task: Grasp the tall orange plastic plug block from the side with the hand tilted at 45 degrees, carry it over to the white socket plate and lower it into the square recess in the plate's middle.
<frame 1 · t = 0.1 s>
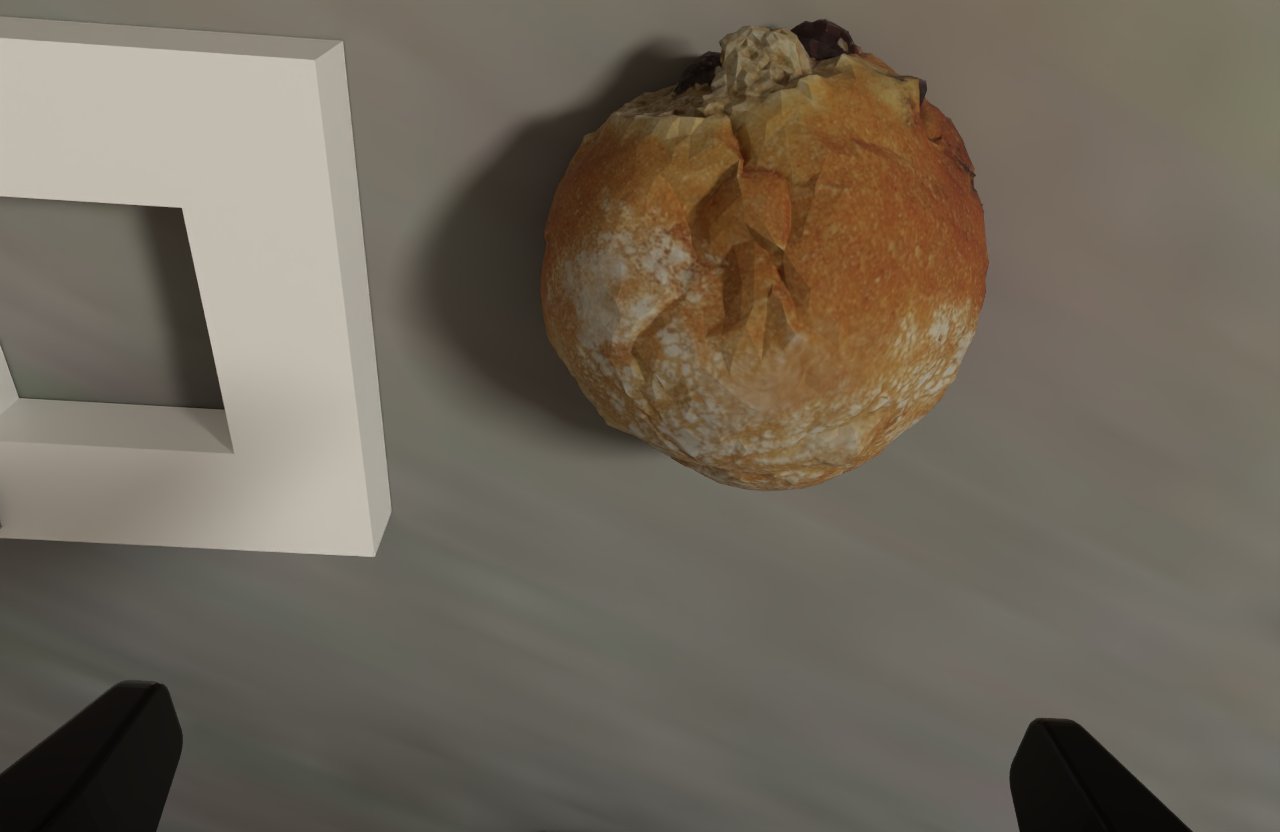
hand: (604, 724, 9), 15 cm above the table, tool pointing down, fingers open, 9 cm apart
bread roll: (752, 236, 22), on the table
socket plate: (111, 296, 23), on the table
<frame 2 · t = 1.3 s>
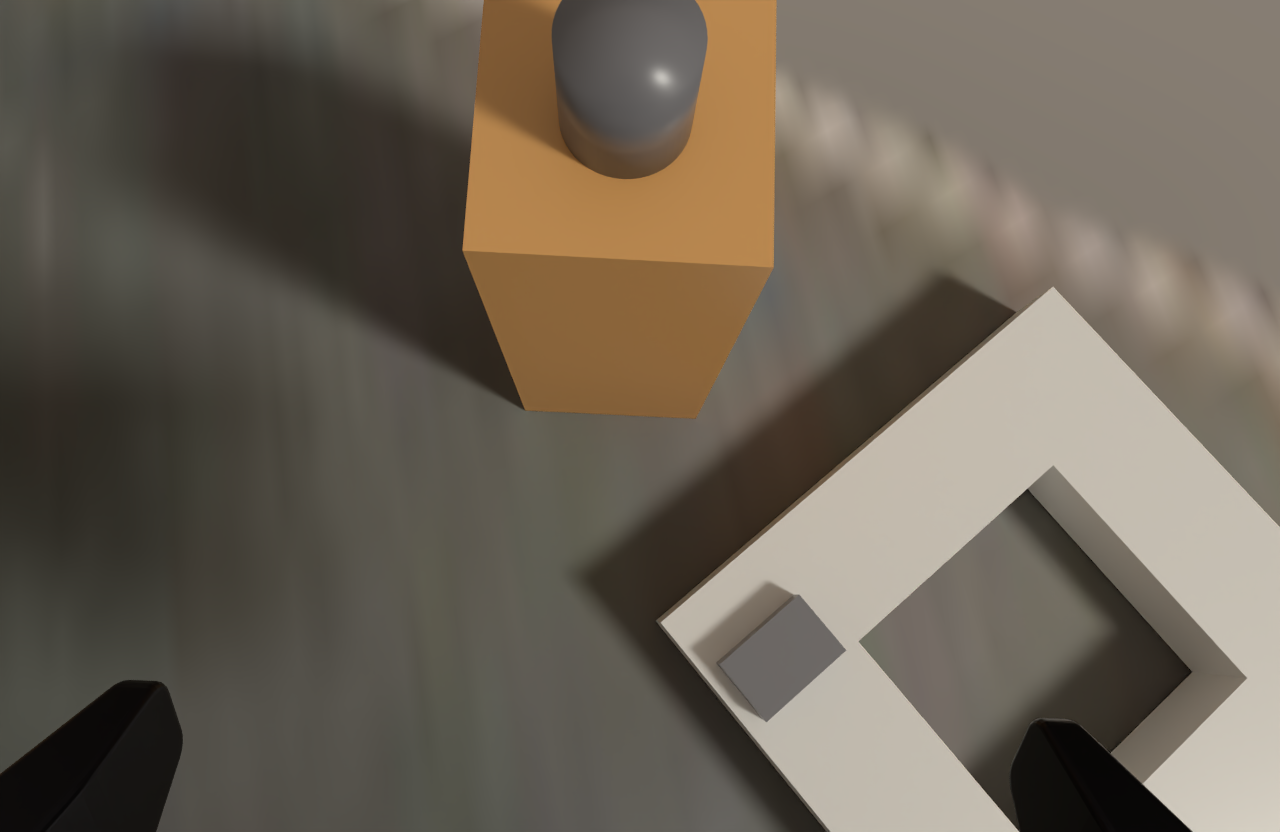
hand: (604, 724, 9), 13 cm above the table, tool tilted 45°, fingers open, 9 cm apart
plug: (614, 332, 24), on the table
socket plate: (1015, 655, 23), on the table
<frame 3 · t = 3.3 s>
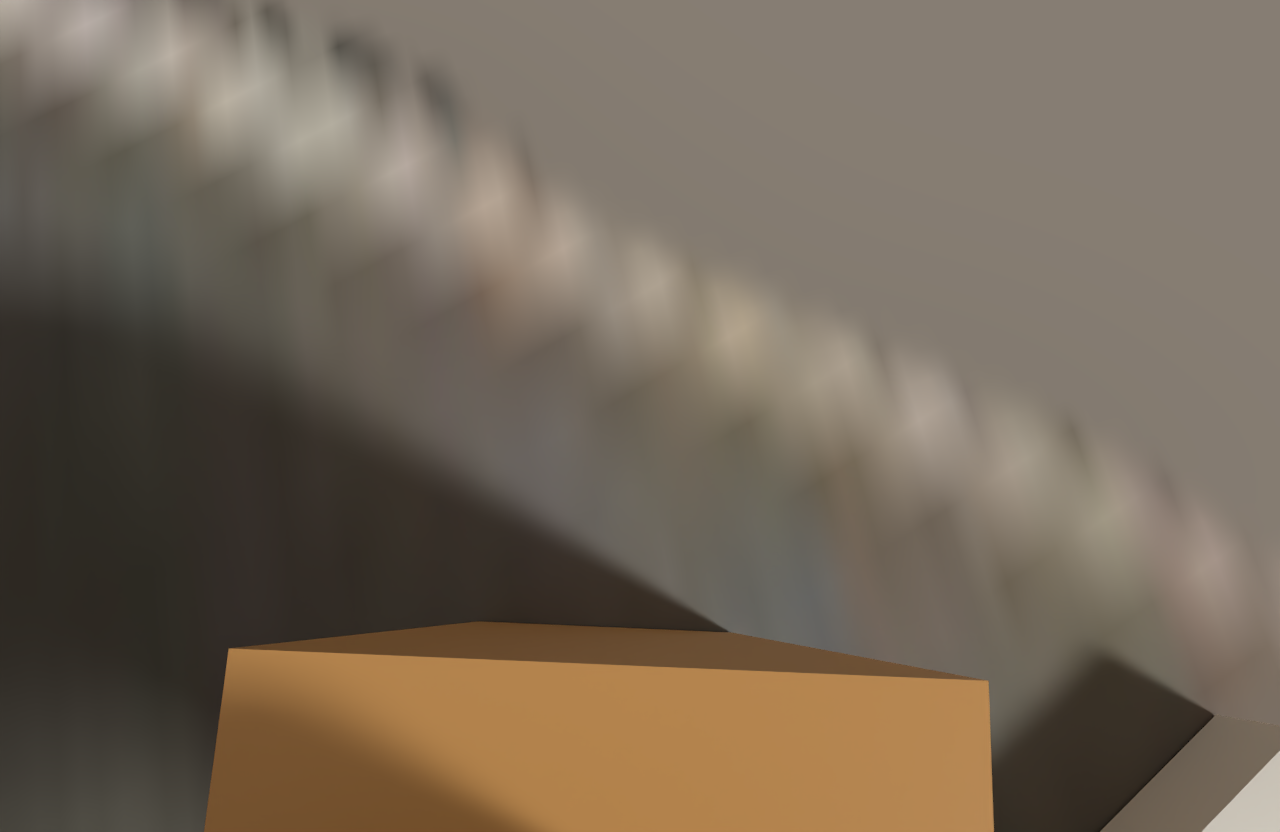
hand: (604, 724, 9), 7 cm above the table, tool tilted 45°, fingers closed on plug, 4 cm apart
plug: (598, 760, 16), on the table, touching gripper
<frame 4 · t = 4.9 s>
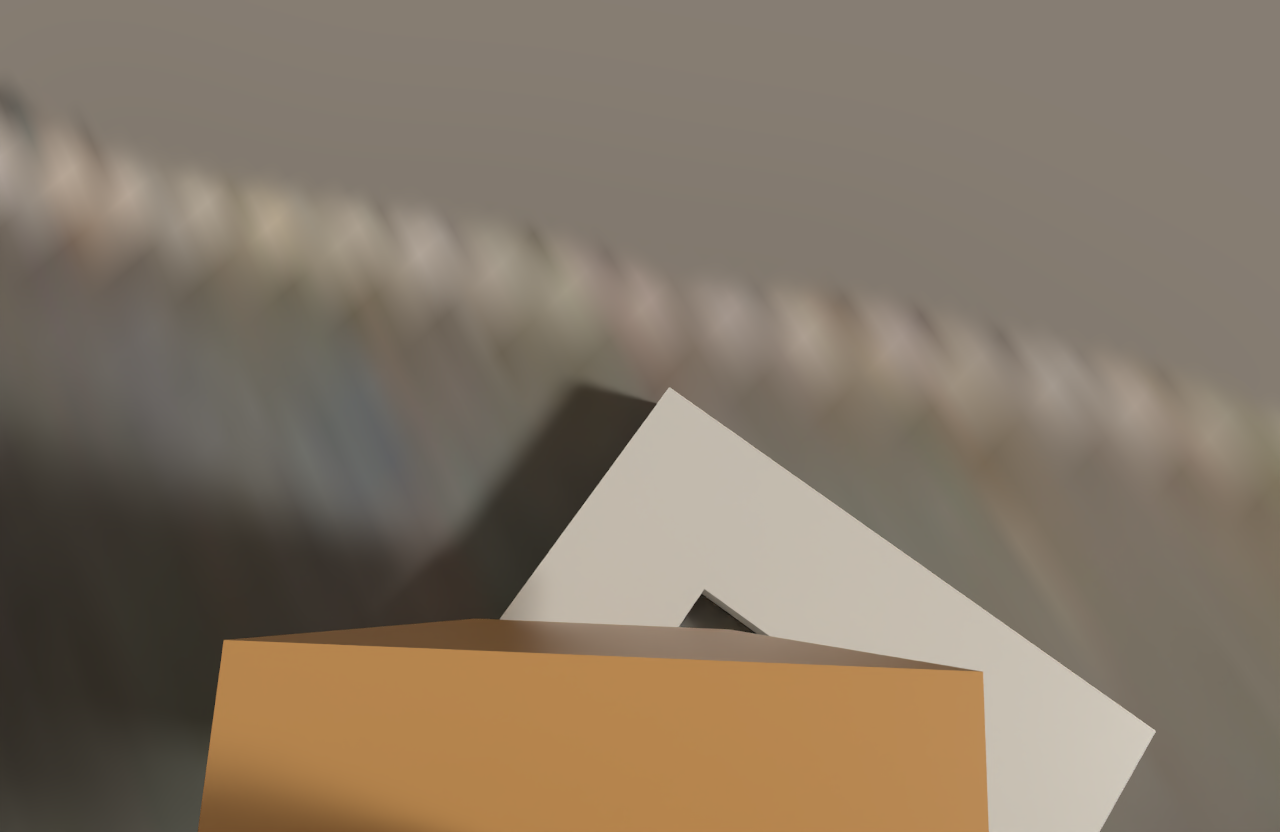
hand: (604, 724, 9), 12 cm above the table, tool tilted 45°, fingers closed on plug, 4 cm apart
plug: (596, 757, 16), point 6 cm above the table, touching gripper
socket plate: (729, 788, 21), on the table
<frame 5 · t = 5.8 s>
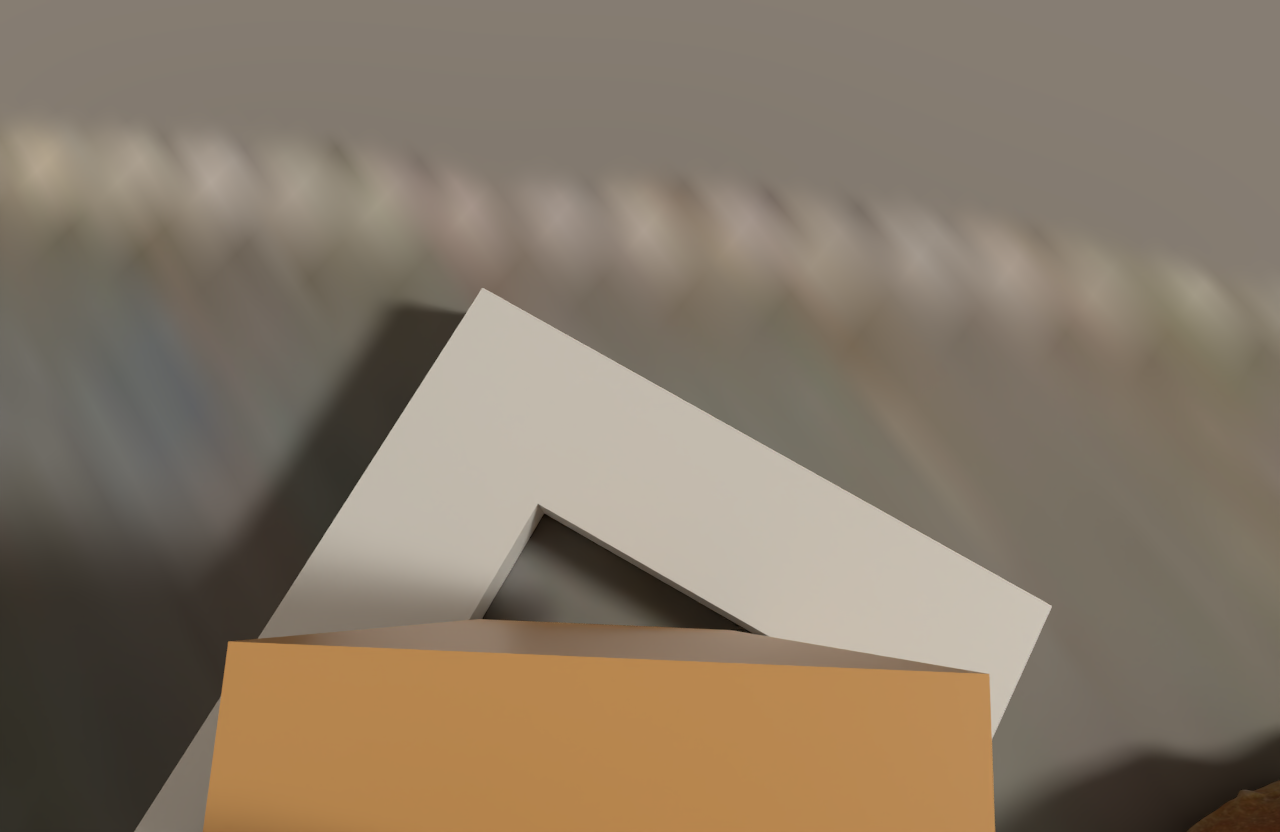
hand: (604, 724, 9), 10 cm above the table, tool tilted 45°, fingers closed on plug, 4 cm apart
plug: (598, 757, 16), point 3 cm above the table, touching gripper
socket plate: (598, 726, 19), on the table
when the fingers open (8 cm above the table, at t = 6.5 s): plug drops 1 cm, resting in socket plate.
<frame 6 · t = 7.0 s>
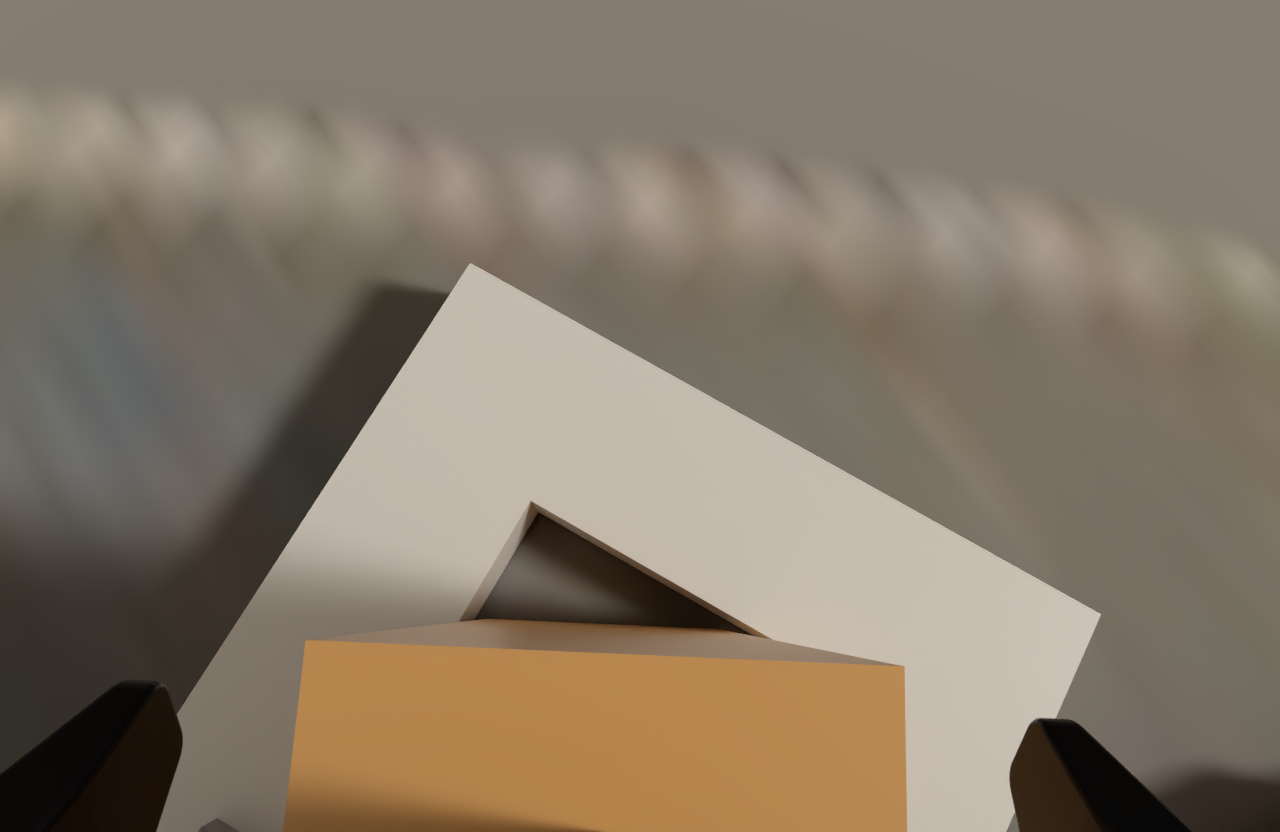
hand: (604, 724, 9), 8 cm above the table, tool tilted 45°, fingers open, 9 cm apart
plug: (597, 745, 17), resting in socket plate
socket plate: (598, 747, 17), on the table
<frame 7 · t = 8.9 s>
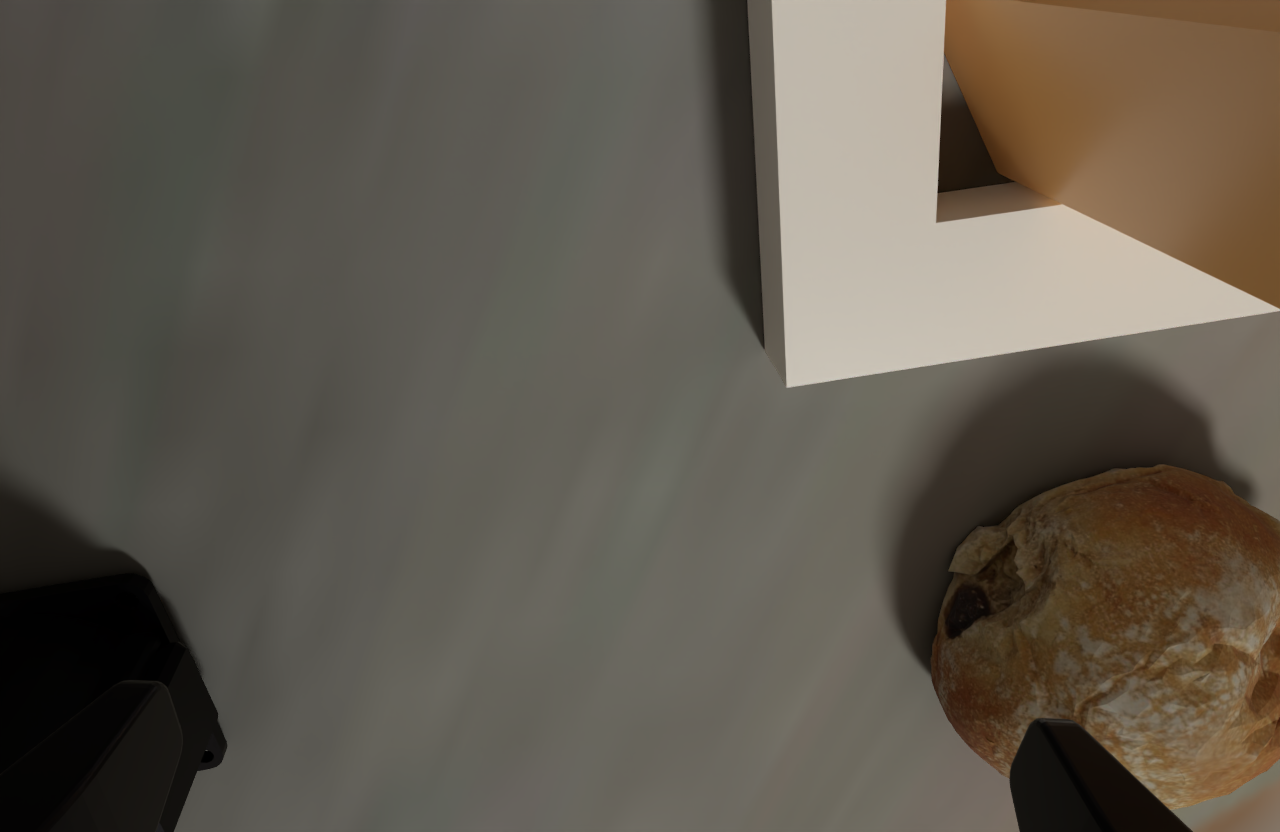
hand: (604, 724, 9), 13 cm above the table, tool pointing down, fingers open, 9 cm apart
plug: (1053, 22, 19), resting in socket plate
bread roll: (1087, 589, 27), on the table
socket plate: (1054, 23, 19), on the table
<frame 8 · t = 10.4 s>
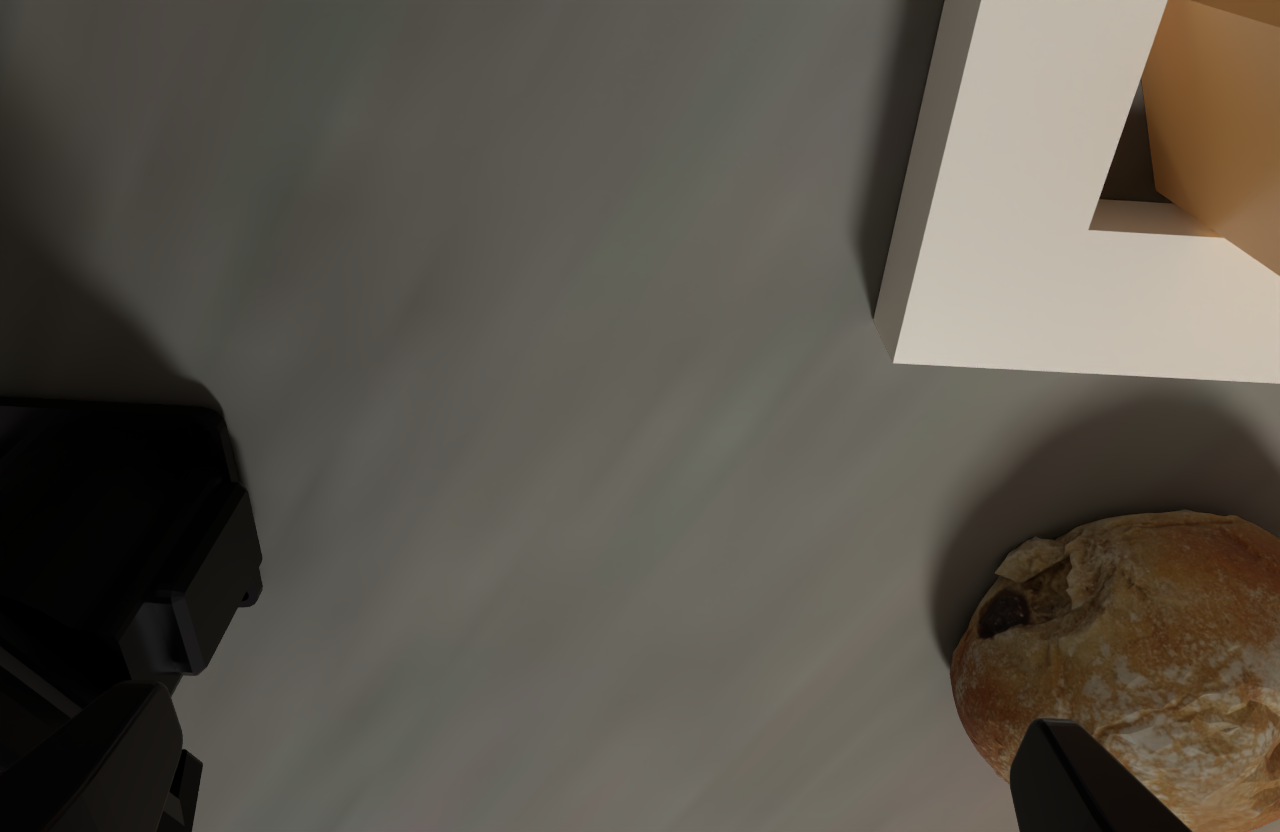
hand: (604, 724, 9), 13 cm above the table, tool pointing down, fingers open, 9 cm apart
plug: (1259, 46, 18), resting in socket plate
bread roll: (1121, 619, 27), on the table
socket plate: (1259, 48, 18), on the table
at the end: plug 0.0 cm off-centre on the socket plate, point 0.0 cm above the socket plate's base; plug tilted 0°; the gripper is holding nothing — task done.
